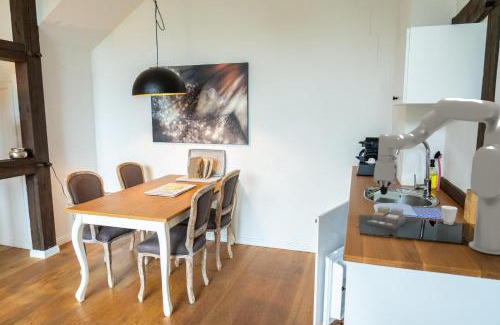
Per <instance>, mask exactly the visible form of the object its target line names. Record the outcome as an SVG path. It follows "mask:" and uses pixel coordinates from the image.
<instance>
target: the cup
mask: <svg viewBox="0 0 500 325" xmlns="http://www.w3.org/2000/svg"><path fill="white" fill-rule="evenodd" d="M440 209H441V217H442V221H443V222H442V223H443V224H444V225H451V226H452V225H454V222H455V221H456V218H457V214H458V213H457V212H458V208H457V207H456V206H451V205H441V206H440Z"/></svg>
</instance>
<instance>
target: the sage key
mask: <svg viewBox="0 0 500 325" xmlns="http://www.w3.org/2000/svg"><path fill="white" fill-rule="evenodd" d="M377 212H381V213H386V215H387V214H389V213H390V212H391V206H383V205H380V206H378V207H377Z"/></svg>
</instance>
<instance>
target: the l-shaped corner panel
mask: <svg viewBox="0 0 500 325" xmlns="http://www.w3.org/2000/svg"><path fill="white" fill-rule="evenodd" d="M380 198H383V199H389V200H396V201H400V192H396V191H395V192H394V191H387V193H386V194H385V195H382V194H381V192H380V190H378V191H376V192H374V193H373V202H376V201H378V200H379V199H380Z"/></svg>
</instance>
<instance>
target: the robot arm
mask: <svg viewBox="0 0 500 325" xmlns="http://www.w3.org/2000/svg"><path fill="white" fill-rule="evenodd" d="M433 107H434V108H433V110H431V111H430V112H428V113H426V114H425V115H424V116H422V117H421V118H420V123H419V125H418V126H417V127H415V128H414V129H412V130H411V131H409V132H408V133H400V134H399V133H398V134H397V133H396V134H391V133H382V134H380V135H379V136H378V150H377V151H378V152H377V153H378V154H377V160H376V161H375V164H374V165H375V166H374V171H373V182H375V183H376V184H378V185H379V187H380V190H379V191H380V192H381V194H382V195H385V194H386V193H387V191H388V189H389V188H388V187H390V185H395V184H397V181H396V180H397V179H398V178H397V173H398V172H397V162H396V161H397V160H398V157H397V156H395V151H396V150H398V151H401V150H409V149H414V148H415V147H417V146H418V145H420V144H422V143H424V142H425V141H426V140H428V139H430V137H431V136H433V134H435V133H436V132H437V131H439V130H441V129H443V127H446V126H448V125H449V124H450V123H451V122H454V121H455V120H456V121H461V122H462V121H463V122H472V123H484V124H485V126H486V127H485V130H484V137H483V138H484V139H483V145H482V146H481V147H480V148H477V149H476V151H475V153H473V154H474V155H473V157H472V160H471V161H472V163H471V172H470V189H471V192H472V193H473V194H474V195H475V196H477V200H476V206H475V220H474V221H475V222H474V232H473V240H472V241H470V242H468V247H469V248H470V249H472V250H474V251H476V252H479V253H484V254H489V255H498V256H499V255H500V103H497V102H493V101H491V100H483V99H469V98H468V99H467V98H456V97H455V98H453V97H445V98H441V99H440V100H439V101H437V102H436V104H435V105H434V106H433ZM388 192H389V191H388Z"/></svg>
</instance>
